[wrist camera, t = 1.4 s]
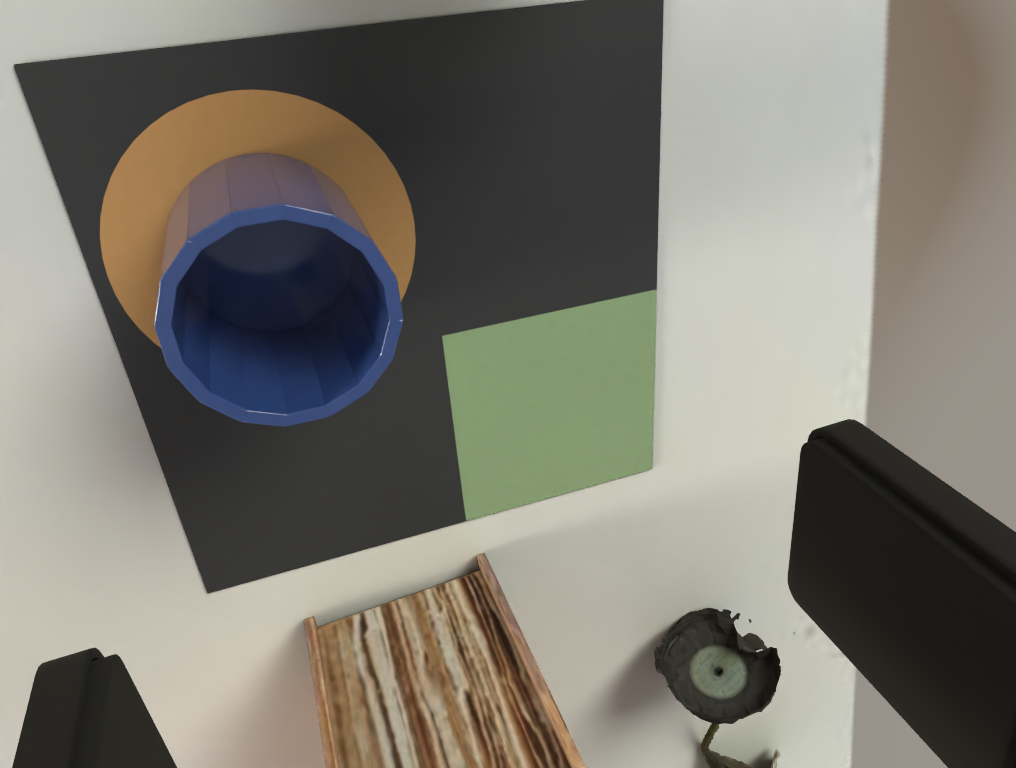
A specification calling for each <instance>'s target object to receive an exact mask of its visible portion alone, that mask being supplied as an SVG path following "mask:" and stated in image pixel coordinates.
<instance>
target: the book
mask: <svg viewBox="0 0 1016 768" xmlns="http://www.w3.org/2000/svg"><path fill="white" fill-rule="evenodd" d="M477 560H478V565H479V569H480V571H477V572H474V573H471V574H468V575H465V576H462V577H460V578H457V579H454V580H451V581H448V582H445V583H442V584H440V585H437V586H434V587H431V588H428V589H425V590H422V591H420V592H417V593H414V594H411V595H408V596H405V597H402V598H400V599H397V600H394V601H391V602H388V603H385V604H382V605H380V606H377V607H374V608H371V609H368V610H365V611H362V612H360V613H357V614H354V615H351V616H348V617H345V618H342V619H340V620H337V621H334V622H331V623H328V624H325V625H322V626H320V627H317V624H316V621H315V619H314V616H313V617H310V618H307V619H305V620H304V625H305V632H306V638H307V645H308V651H309V658H310V664H311V671H312V677H313V684H314V690H315V697H316V704H317V710H318V717H319V723H320V730H321V736H322V743H323V749H324V756H325V762H326V768H586V767H585V765H584V763H583V761H582V759H581V756H580V754H579V752H578V750H577V748H576V746H575V744H574V742H573V740H572V737H571V735H570V733H569V731H568V729H567V727H566V725H565V723H564V720H563V718H562V716H561V714H560V712H559V710H558V708H557V706H556V704H555V701H554V699H553V697H552V695H551V693H550V691H549V689H548V687H547V684H546V682H545V680H544V678H543V676H542V674H541V672H540V670H539V668H538V665H537V663H536V661H535V659H534V657H533V655H532V653H531V651H530V649H529V646H528V644H527V642H526V640H525V638H524V636H523V634H522V632H521V629H520V627H519V625H518V623H517V621H516V619H515V617H514V615H513V613H512V610H511V608H510V606H509V604H508V602H507V600H506V598H505V596H504V593H503V591H502V589H501V587H500V585H499V583H498V581H497V579H496V577H495V574H494V572H493V570H492V568H491V566H490V564H489V562H488V560H487V557H486V555H485V553H483V554H480V555H477Z"/></svg>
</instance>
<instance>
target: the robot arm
mask: <svg viewBox="0 0 1016 768" xmlns="http://www.w3.org/2000/svg"><path fill="white" fill-rule="evenodd" d="M788 585H789V589H790V591H791V594H792V596H793V598H794V599H795V601H796V602H797V603H798V605H799V606H800V607H801V608H802V609H803V610H804V611H805V612H806V613H807V614H808V616H809V617H810V618H811V619H812V620H813V621H814V622H815V623H816V624H817V625H818V626H819V628H820V629H821V630H822V631H823V632H824V633H825V634H826V635H827V636H828V637H829V638H830V639H831V641H832V642H833V643H834V644H835V645H836V646H837V647H838V648H839V649H840V650H841V651H842V653H843V654H844V655H845V656H846V657H847V658H848V659H849V660H850V661H851V662H852V663H853V665H854V666H855V667H856V668H857V669H858V670H859V671H860V672H861V673H862V674H863V675H864V677H865V678H866V679H867V680H868V681H869V682H870V683H871V684H872V685H873V686H874V687H875V688H876V690H877V691H878V692H879V693H880V694H881V695H882V696H883V697H884V698H885V699H886V700H887V701H888V703H889V704H890V705H891V706H892V707H893V708H894V709H895V710H896V711H897V712H898V714H899V715H900V716H902V718H903V719H904V720H905V721H906V722H907V723H908V724H909V725H910V726H911V728H912V729H913V730H914V731H915V732H916V733H917V734H918V735H919V736H920V738H921V739H922V740H923V741H924V742H925V743H926V744H927V745H928V746H929V747H930V748H931V749H932V751H933V752H934V753H935V754H936V755H937V756H938V757H939V758H940V759H941V760H942V761H943V763H944V764H945V765H946V766H947V767H948V768H1016V532H1014V531H1013V530H1012V529H1010V528H1009V527H1007V526H1006V525H1005V524H1003V523H1002V522H1000V521H999V520H997V519H996V518H995V517H993V516H992V515H990V514H989V513H988V512H986V511H985V510H983V509H982V508H980V507H979V506H978V505H976V504H975V503H973V502H972V501H971V500H969V499H968V498H966V497H965V496H963V495H962V494H961V493H959V492H958V491H956V490H955V489H953V488H952V487H951V486H949V485H948V484H946V483H945V482H944V481H942V480H941V479H939V478H938V477H936V476H935V475H934V474H932V473H931V472H929V471H928V470H927V469H925V468H924V467H922V466H921V465H919V464H918V463H917V462H915V461H913V460H912V459H911V458H909V457H908V456H907V455H905V454H904V453H902V452H901V451H900V450H898V449H896V448H895V447H894V446H892V445H891V444H890V443H888V442H887V441H885V440H884V439H882V438H881V437H880V436H878V435H877V434H875V433H874V432H873V431H871V430H870V429H868V428H867V427H866V426H864V425H863V424H861V423H860V422H858V421H856V420H850V419H848V420H844V421H841V422H838V423H834V424H831V425H828V426H825V427H821V428H818V429H815V430H813V431H812V432H811V433H810V435H809V438H808V442H807V443H805V444H804V445H803V446H802V448H801V453H800V462H799V472H798V482H797V492H796V501H795V511H794V521H793V531H792V540H791V550H790V560H789V570H788ZM12 768H177V766H176V764H175V763H174V761H173V759H172V757H171V755H170V753H169V751H168V749H167V747H166V745H165V743H164V741H163V739H162V737H161V735H160V733H159V731H158V729H157V728H156V726H155V724H154V722H153V720H152V718H151V716H150V714H149V712H148V710H147V708H146V706H145V704H144V702H143V700H142V698H141V696H140V694H139V692H138V691H137V689H136V687H135V685H134V683H133V681H132V679H131V677H130V675H129V673H128V671H127V669H126V667H125V665H124V663H123V661H122V660H121V658H120V657H119V656H118V655H117V654H115V655H111V656H108V657H104V656H103V655H102V653H101V652H100V651H99V650H98V649H96V648H91V649H88V650H84V651H81V652H78V653H74V654H71V655H68V656H65V657H61V658H58V659H55V660H51V661H48V662H45V663H42V664H41V665H40V666H39V667H38V669H37V672H36V675H35V678H34V682H33V687H32V691H31V695H30V699H29V703H28V707H27V711H26V715H25V719H24V723H23V727H22V731H21V735H20V739H19V743H18V747H17V751H16V755H15V759H14V763H13V767H12Z"/></svg>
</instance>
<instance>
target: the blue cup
mask: <svg viewBox="0 0 1016 768" xmlns="http://www.w3.org/2000/svg"><path fill="white" fill-rule="evenodd" d="M402 324H403V313H402V306H401V300H400V293H399V287H398V281H397V279H396V276H395V274H394V272H393V271H392V269H391V267H390V266H389V264H388V262H387V261H386V259H385V257H384V256H383V254H382V252H381V251H380V249H379V247H378V246H377V244H376V243H375V241H374V239H373V238H372V236H371V234H370V233H369V231H368V229H367V228H366V226H365V224H364V223H363V221H362V219H361V218H360V216H359V215H358V213H357V212H356V210H355V208H354V207H353V205H352V204H351V202H350V200H349V199H348V198H347V196H346V194H345V193H344V191H343V190H342V188H340V186H338V185H337V184H336V183H335V182H334V181H333V180H332V179H331V178H329V177H328V176H327V175H326V174H324V173H323V172H322V171H320V170H318V169H317V168H315V167H313V166H312V165H310V164H308V163H305V162H303V161H301V160H299V159H295V158H292V157H289V156H285V155H279V154H274V153H250V154H243V155H238V156H233V157H230V158H227V159H225V160H222V161H219V162H217V163H215V164H213V165H212V166H210V167H208V168H206V169H205V170H204V171H202V172H201V173H199V174H198V175H197V176H196V177H195V178H194V179H193V180H191V181H190V182H189V183H188V184H187V186H186V187H185V188H184V190H183V191H182V192H181V193H180V195H179V197H178V198H177V200H176V202H175V204H174V205H173V208H172V211H171V212H170V214H169V216H168V221H167V228H166V236H165V243H164V250H163V258H162V266H161V273H160V281H159V289H158V297H157V304H156V312H155V320H154V325H155V327H154V328H155V331H156V334H157V337H158V340H159V343H160V346H161V349H162V352H163V355H164V358H165V361H166V364H167V367H168V368H169V370H170V371H171V373H172V374H173V375H174V376H175V377H176V378H177V379H178V380H179V381H180V382H181V383H182V384H183V385H184V386H185V388H186V389H187V390H188V391H189V392H190V393H191V394H192V395H193V396H194V397H195V398H196V399H197V400H198V401H199V402H200V403H202V404H204V405H206V406H208V407H210V408H212V409H214V410H216V411H218V412H221V413H223V414H225V415H227V416H229V417H231V418H233V419H235V420H238V421H240V422H241V421H242V422H243V423H253V424H264V425H274V426H284V427H286V426H292V425H297V424H301V423H305V422H309V421H314V420H318V419H322V418H326V417H330V415H331V416H332V415H334V414H335V413H337V412H339V411H340V410H342V409H343V408H345V407H347V406H348V405H350V404H351V403H353V402H354V401H356V400H358V399H359V398H361V397H362V396H364V395H365V394H367V393H368V392H369V390H370V389H371V388H372V387H373V385H374V384H375V383H376V381H377V380H378V379H379V377H380V376H381V375H382V373H383V372H384V371H385V369H386V368H387V367H388V365H389V364H390V363H391V362H392V359H393V358H394V354H395V350H396V346H397V343H398V339H399V335H400V331H401V328H402Z"/></svg>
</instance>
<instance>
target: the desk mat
mask: <svg viewBox="0 0 1016 768" xmlns="http://www.w3.org/2000/svg"><path fill="white" fill-rule="evenodd" d="M662 41H663V0H584V1H575V2H566V3H557V4H548V5H540V6H531V7H522V8H513V9H504V10H495V11H486V12H477V13H468V14H460V15H451V16H442V17H433V18H424V19H415V20H406V21H397V22H388V23H380V24H371V25H362V26H353V27H344V28H335V29H326V30H317V31H308V32H300V33H291V34H282V35H273V36H264V37H255V38H246V39H237V40H228V41H220V42H211V43H202V44H193V45H184V46H175V47H166V48H157V49H148V50H140V51H131V52H122V53H113V54H104V55H95V56H86V57H77V58H68V59H60V60H51V61H42V62H33V63H24V64H15V65H14V68H15V70H16V73H17V76H18V79H19V81H20V84H21V87H22V89H23V92H24V95H25V98H26V100H27V103H28V106H29V108H30V111H31V114H32V117H33V119H34V122H35V125H36V128H37V130H38V133H39V136H40V138H41V141H42V144H43V147H44V149H45V152H46V155H47V157H48V160H49V163H50V166H51V168H52V171H53V174H54V176H55V179H56V182H57V185H58V187H59V190H60V193H61V196H62V198H63V201H64V204H65V206H66V209H67V212H68V215H69V217H70V220H71V223H72V225H73V228H74V231H75V234H76V236H77V239H78V242H79V245H80V247H81V250H82V253H83V255H84V258H85V261H86V264H87V266H88V269H89V272H90V274H91V277H92V280H93V283H94V285H95V288H96V291H97V293H98V296H99V299H100V302H101V304H102V307H103V310H104V313H105V315H106V318H107V321H108V323H109V326H110V329H111V332H112V334H113V337H114V340H115V342H116V345H117V348H118V351H119V353H120V356H121V359H122V361H123V364H124V367H125V370H126V372H127V375H128V378H129V381H130V383H131V386H132V389H133V391H134V394H135V397H136V400H137V402H138V405H139V408H140V410H141V413H142V416H143V419H144V421H145V424H146V427H147V430H148V432H149V435H150V438H151V440H152V443H153V446H154V449H155V451H156V454H157V457H158V459H159V462H160V465H161V468H162V470H163V473H164V476H165V478H166V481H167V484H168V487H169V489H170V492H171V495H172V498H173V500H174V503H175V506H176V508H177V511H178V514H179V517H180V519H181V522H182V525H183V527H184V530H185V533H186V536H187V538H188V541H189V544H190V547H191V549H192V552H193V555H194V557H195V560H196V563H197V566H198V568H199V571H200V574H201V576H202V579H203V582H204V585H205V587H206V590H207V593H211V592H215V591H218V590H222V589H225V588H229V587H232V586H236V585H240V584H243V583H247V582H250V581H254V580H257V579H261V578H265V577H268V576H272V575H275V574H279V573H282V572H286V571H290V570H293V569H297V568H300V567H304V566H307V565H311V564H315V563H318V562H322V561H325V560H329V559H332V558H336V557H340V556H343V555H347V554H350V553H354V552H357V551H361V550H365V549H368V548H372V547H375V546H379V545H382V544H386V543H390V542H393V541H397V540H400V539H404V538H407V537H411V536H415V535H418V534H422V533H425V532H429V531H432V530H436V529H440V528H443V527H447V526H450V525H454V524H457V523H461V522H465V521H469V520H472V519H476V518H479V517H483V516H486V515H490V514H494V513H497V512H501V511H504V510H508V509H511V508H515V507H519V506H522V505H526V504H529V503H533V502H536V501H540V500H543V499H547V498H551V497H554V496H558V495H561V494H565V493H568V492H572V491H576V490H579V489H583V488H586V487H590V486H593V485H597V484H601V483H604V482H608V481H611V480H615V479H618V478H622V477H626V476H629V475H633V474H636V473H640V472H643V471H647V470H651V469H652V462H653V420H654V379H655V337H656V295H657V250H658V208H659V166H660V124H661V82H662ZM250 153H274V154H279V155H285V156H289V157H292V158H295V159H299V160H301V161H303V162H305V163H308V164H310V165H312V166H313V167H315V168H317V169H318V170H320V171H322V172H323V173H324V174H326V175H327V176H328V177H329V178H331V179H332V180H333V181H334V182H335V183H336V184H337V185H338V186H340V188H342V190H343V191H344V193H345V194H346V196H347V198H348V199H349V200H350V202H351V204H352V205H353V207H354V208H355V210H356V212H357V213H358V215H359V216H360V218H361V219H362V221H363V223H364V224H365V226H366V228H367V229H368V231H369V233H370V234H371V236H372V238H373V239H374V241H375V243H376V244H377V246H378V247H379V249H380V251H381V252H382V254H383V256H384V257H385V259H386V261H387V262H388V264H389V266H390V267H391V269H392V271H393V272H394V274H395V276H396V279H397V281H398V287H399V293H400V300H401V306H402V313H403V324H402V328H401V331H400V335H399V339H398V343H397V346H396V350H395V354H394V358H393V359H392V362H391V363H390V364H389V365H388V367H387V368H386V369H385V371H384V372H383V373H382V375H381V376H380V377H379V379H378V380H377V381H376V383H375V384H374V385H373V387H372V388H371V389H370V390H369V392H368V393H367V394H365V395H364V396H362V397H361V398H359V399H358V400H356V401H354V402H353V403H351V404H350V405H348V406H347V407H345V408H343V409H342V410H340V411H339V412H337V413H335V414H334V415H332V416H331V415H330V417H326V418H322V419H318V420H314V421H309V422H305V423H301V424H297V425H292V426H286V427H284V426H274V425H264V424H253V423H243V422H242V421H241V422H240V421H238V420H235V419H233V418H231V417H229V416H227V415H225V414H223V413H221V412H218V411H216V410H214V409H212V408H210V407H208V406H206V405H204V404H202V403H200V402H199V401H198V400H197V399H196V398H195V397H194V396H193V395H192V394H191V393H190V392H189V391H188V390H187V389H186V388H185V386H184V385H183V384H182V383H181V382H180V381H179V380H178V379H177V378H176V377H175V376H174V375H173V374H172V373H171V371H170V370H169V368H168V367H167V364H166V361H165V358H164V355H163V352H162V349H161V346H160V343H159V340H158V337H157V334H156V331H155V328H154V327H155V325H154V320H155V312H156V304H157V297H158V289H159V281H160V273H161V266H162V258H163V250H164V243H165V236H166V228H167V221H168V216H169V214H170V212H171V211H172V208H173V205H174V204H175V202H176V200H177V198H178V197H179V195H180V193H181V192H182V191H183V190H184V188H185V187H186V186H187V184H188V183H189V182H190V181H191V180H193V179H194V178H195V177H196V176H197V175H198V174H199V173H201V172H202V171H204V170H205V169H206V168H208V167H210V166H212V165H213V164H215V163H217V162H219V161H222V160H225V159H227V158H230V157H233V156H238V155H243V154H250Z"/></svg>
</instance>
